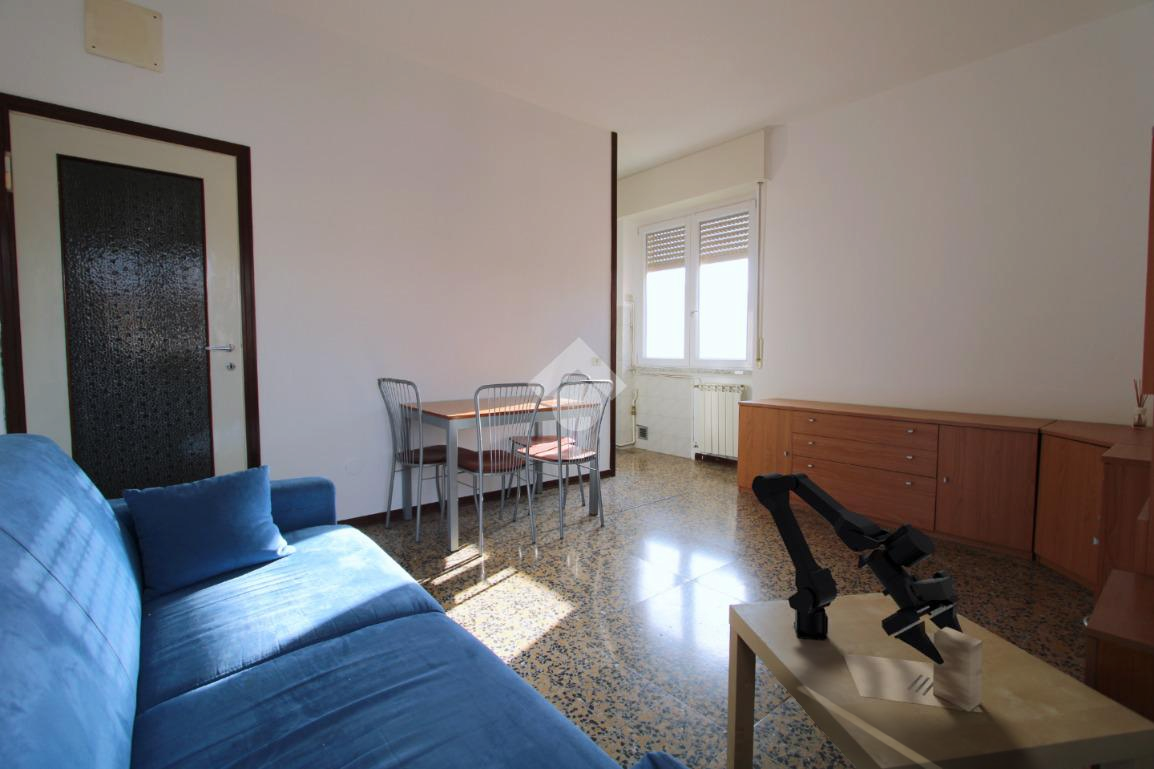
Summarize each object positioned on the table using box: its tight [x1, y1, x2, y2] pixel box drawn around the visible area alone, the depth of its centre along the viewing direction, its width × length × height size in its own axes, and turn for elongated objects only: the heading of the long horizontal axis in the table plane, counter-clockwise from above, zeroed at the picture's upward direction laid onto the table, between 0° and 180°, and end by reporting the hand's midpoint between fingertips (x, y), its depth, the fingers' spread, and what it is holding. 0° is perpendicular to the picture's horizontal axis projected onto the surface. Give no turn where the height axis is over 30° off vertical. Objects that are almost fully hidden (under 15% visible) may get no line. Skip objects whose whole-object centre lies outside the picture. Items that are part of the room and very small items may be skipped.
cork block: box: [933, 627, 984, 714], centre depth 99 cm, size 6×4×12 cm
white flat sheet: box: [842, 652, 984, 713], centre depth 105 cm, size 20×15×1 cm
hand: (954, 656), depth 99 cm, fingers open, 9 cm apart
